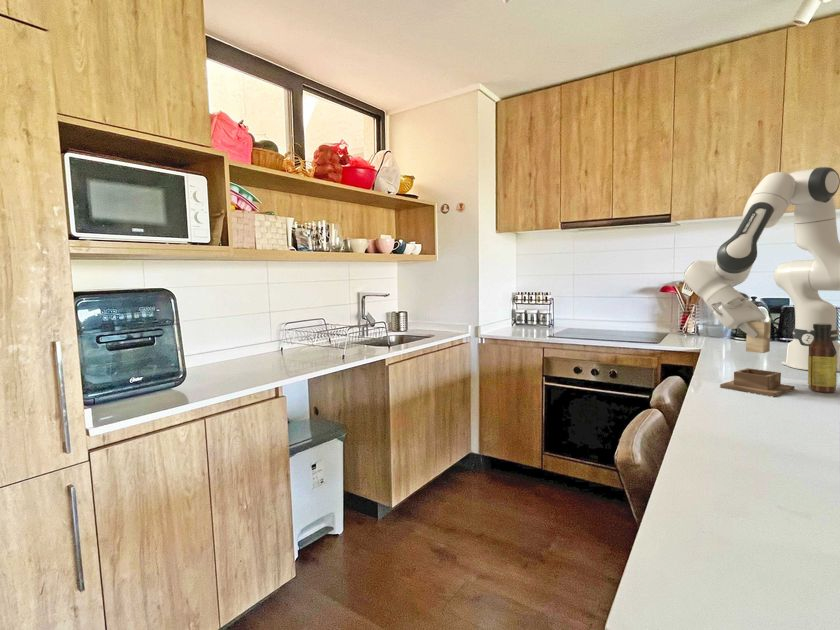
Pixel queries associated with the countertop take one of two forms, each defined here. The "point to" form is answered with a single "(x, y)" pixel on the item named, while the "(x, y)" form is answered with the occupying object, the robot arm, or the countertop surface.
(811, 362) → the sauce bottle
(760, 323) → the maple block
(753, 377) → the walnut stand
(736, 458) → the countertop surface
